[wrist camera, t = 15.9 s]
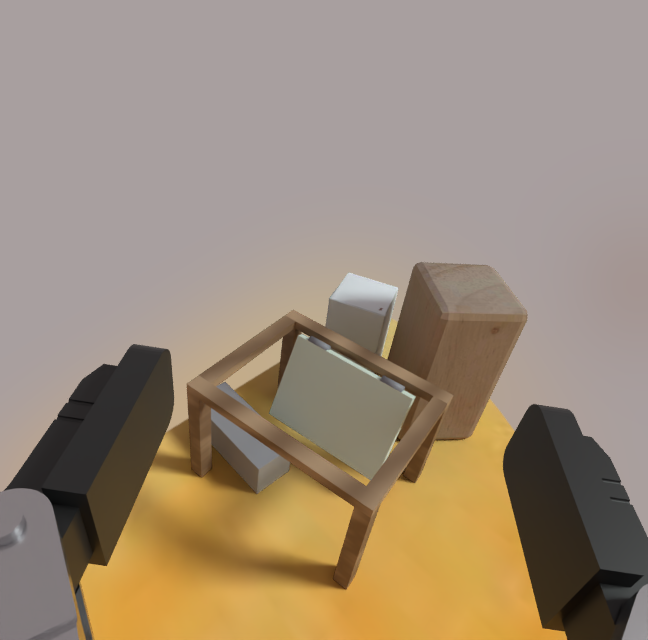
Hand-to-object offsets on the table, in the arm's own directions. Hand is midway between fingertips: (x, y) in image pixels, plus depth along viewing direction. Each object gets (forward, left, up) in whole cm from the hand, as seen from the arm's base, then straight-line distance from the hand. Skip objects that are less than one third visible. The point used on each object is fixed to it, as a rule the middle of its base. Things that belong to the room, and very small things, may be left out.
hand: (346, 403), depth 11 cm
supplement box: (-18, +40, -38) cm, 59 cm away
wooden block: (-6, +39, -38) cm, 55 cm away
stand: (-12, +22, -38) cm, 46 cm away
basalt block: (-14, +19, -36) cm, 43 cm away
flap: (-12, +26, -30) cm, 42 cm away
